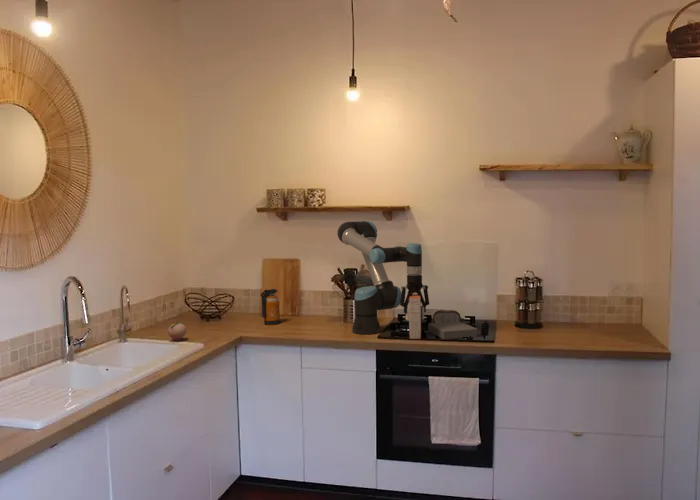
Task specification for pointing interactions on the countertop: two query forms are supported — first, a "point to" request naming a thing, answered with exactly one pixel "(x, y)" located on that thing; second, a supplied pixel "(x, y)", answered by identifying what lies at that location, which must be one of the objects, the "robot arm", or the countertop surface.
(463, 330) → the podium
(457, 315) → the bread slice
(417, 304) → the cracker box
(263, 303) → the canister
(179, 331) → the decorative fruit
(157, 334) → the countertop surface
